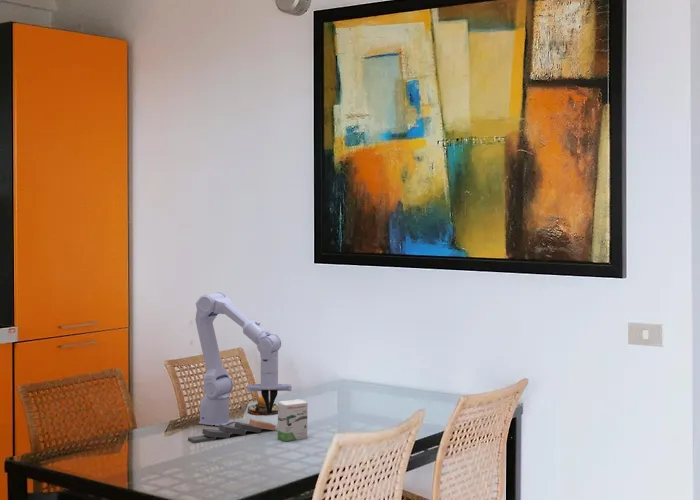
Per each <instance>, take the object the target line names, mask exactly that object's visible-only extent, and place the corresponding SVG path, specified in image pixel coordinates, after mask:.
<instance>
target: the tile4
mask: <svg viewBox="0 0 700 500" xmlns="http://www.w3.org/2000/svg"><path fill="white" fill-rule="evenodd" d="M201 434H202V435H206V436H208V437H216V438H221V439H222V438H223V439H225V438H226V439H230V437H231V433H227V432H223V431H221V430H219V429H213V428H203V429H202V433H201Z"/></svg>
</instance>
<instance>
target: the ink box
mask: <svg viewBox="0 0 700 500" xmlns="http://www.w3.org/2000/svg"><path fill="white" fill-rule="evenodd" d="M277 405H278V414H277V439H278V440H281V441H283V442H291V441H297V440H298V441H299V440H302V439H303V440H305V439H308V402H307V401H305V400H303V399H301V398H297V399H290V400H289V399H288V400H282V401H281V400H279V402H277Z"/></svg>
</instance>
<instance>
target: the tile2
mask: <svg viewBox="0 0 700 500" xmlns="http://www.w3.org/2000/svg"><path fill="white" fill-rule="evenodd" d="M234 422H235V423H234V425H233V427H237V428H239V429H242V430H246V432H252V433H258V434H260V433H261V432H262V429H263V428H258V427H254V426H252V425H250V424H249V423H245V422H239V421H234Z"/></svg>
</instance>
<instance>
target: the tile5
mask: <svg viewBox="0 0 700 500" xmlns="http://www.w3.org/2000/svg"><path fill="white" fill-rule="evenodd" d="M216 439H217V437H208V436H206V435H204V434H202V435H197V436H190V437H187V441H188V442H190V443H192V444H199V443H206V442H212V440H213V441H216Z"/></svg>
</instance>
